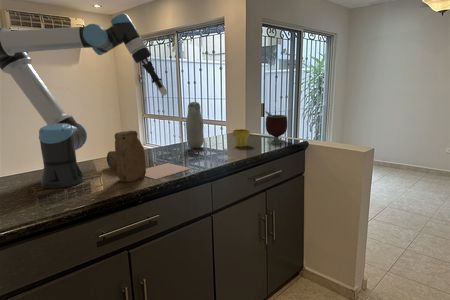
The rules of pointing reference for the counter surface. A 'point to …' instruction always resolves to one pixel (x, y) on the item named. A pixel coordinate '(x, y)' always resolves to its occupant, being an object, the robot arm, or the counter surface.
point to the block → (129, 156)
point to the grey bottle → (194, 126)
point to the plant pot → (241, 137)
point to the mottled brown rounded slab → (111, 160)
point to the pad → (164, 170)
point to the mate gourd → (276, 127)
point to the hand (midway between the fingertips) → (165, 94)
